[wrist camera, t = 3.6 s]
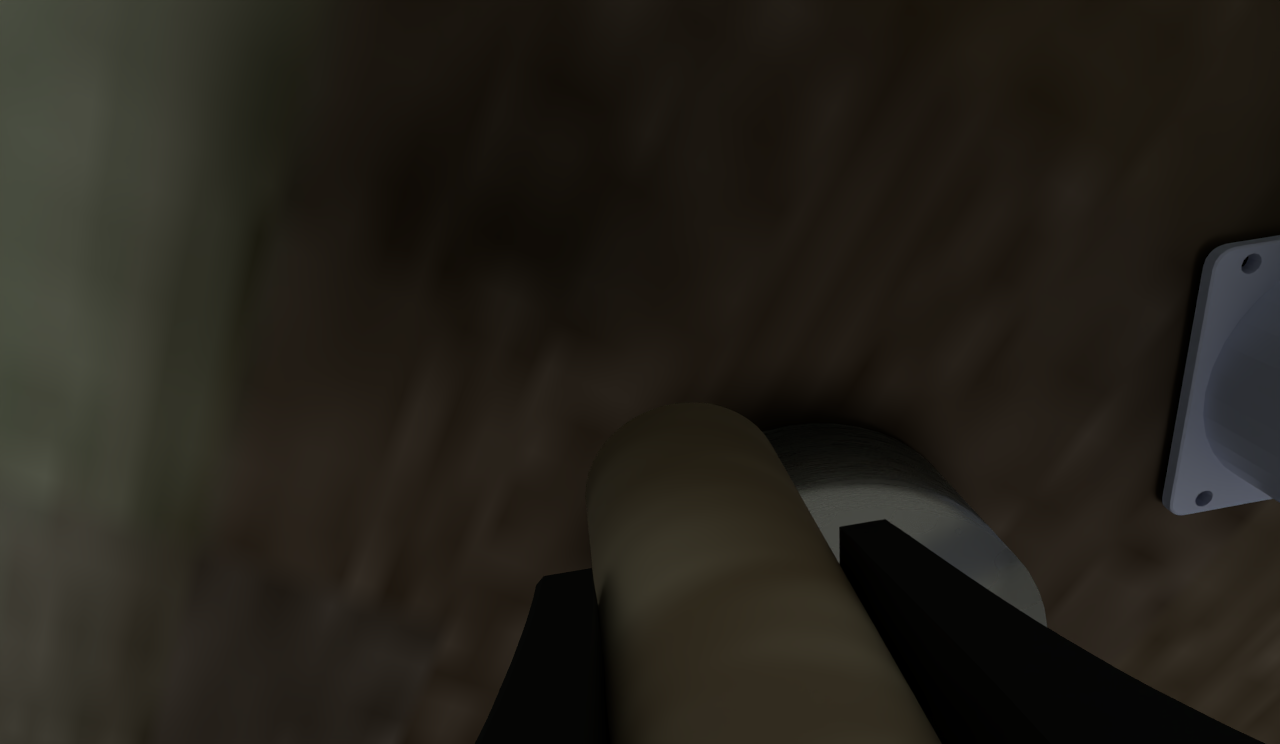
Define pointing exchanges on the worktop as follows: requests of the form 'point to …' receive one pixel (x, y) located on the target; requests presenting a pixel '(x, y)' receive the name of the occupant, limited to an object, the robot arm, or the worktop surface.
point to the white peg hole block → (897, 502)
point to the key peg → (729, 597)
